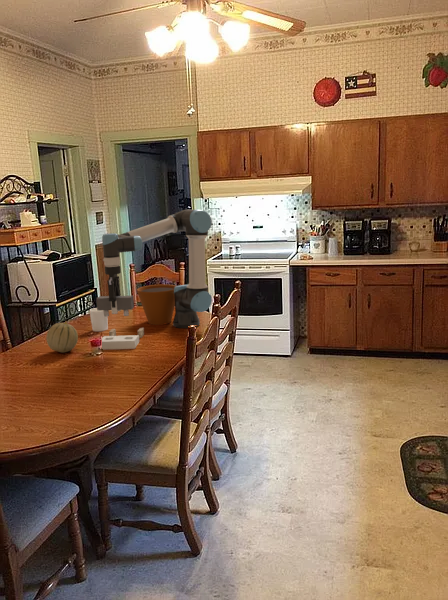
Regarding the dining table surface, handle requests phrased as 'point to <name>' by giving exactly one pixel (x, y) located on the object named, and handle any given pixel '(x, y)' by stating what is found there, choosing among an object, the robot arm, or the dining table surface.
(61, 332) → the cantaloupe
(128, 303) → the peg strip
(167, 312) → the flower pot
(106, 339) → the hole board
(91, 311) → the white cylinder
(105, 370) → the dining table surface
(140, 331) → the wooden rests
